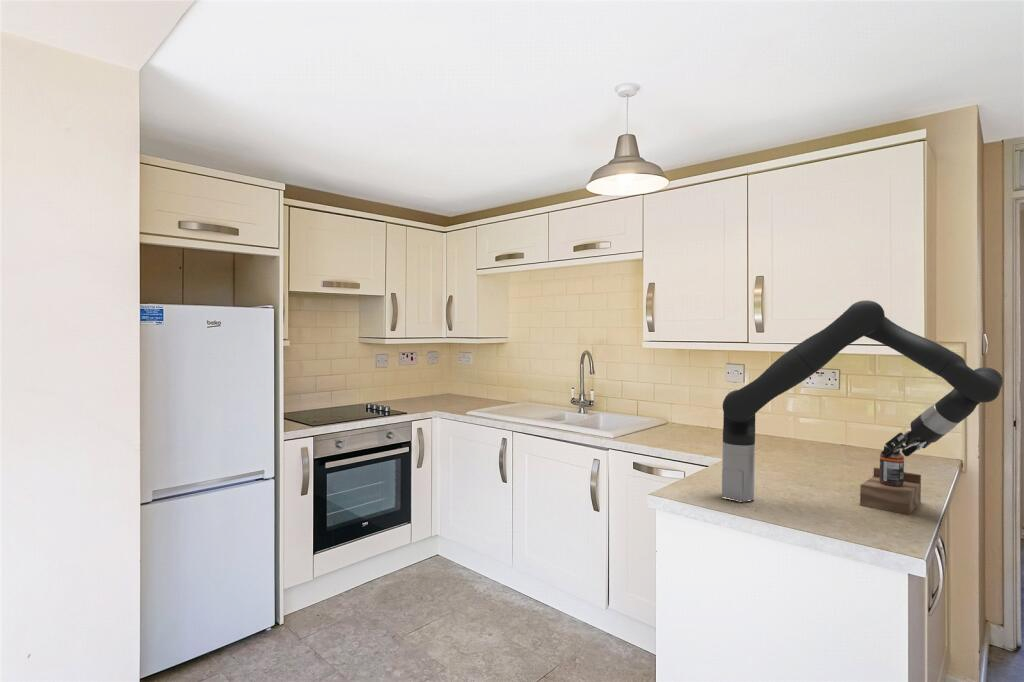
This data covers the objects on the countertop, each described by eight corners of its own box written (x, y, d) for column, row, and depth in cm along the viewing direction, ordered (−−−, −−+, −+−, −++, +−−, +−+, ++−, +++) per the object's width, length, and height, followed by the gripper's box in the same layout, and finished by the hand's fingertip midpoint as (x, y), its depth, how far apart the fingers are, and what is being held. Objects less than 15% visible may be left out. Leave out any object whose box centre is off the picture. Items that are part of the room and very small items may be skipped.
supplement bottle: (880, 480, 169) (881, 443, 169) (904, 483, 166) (905, 446, 165) (878, 484, 165) (878, 446, 165) (902, 488, 161) (903, 449, 161)
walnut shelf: (908, 514, 156) (909, 484, 156) (860, 505, 164) (860, 476, 164) (920, 502, 167) (921, 474, 167) (874, 494, 175) (874, 467, 175)
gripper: (942, 410, 158) (902, 442, 169) (907, 412, 154) (868, 445, 165) (962, 432, 153) (919, 464, 165) (926, 435, 149) (885, 467, 160)
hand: (894, 454), depth 165 cm, fingers open, 8 cm apart
